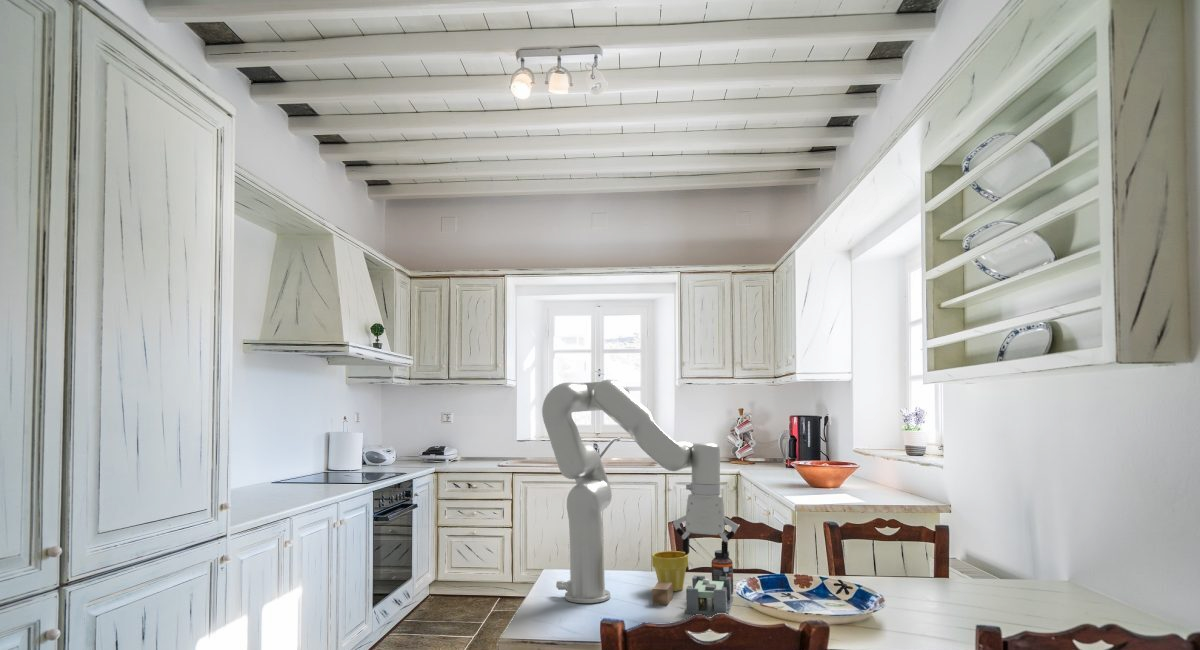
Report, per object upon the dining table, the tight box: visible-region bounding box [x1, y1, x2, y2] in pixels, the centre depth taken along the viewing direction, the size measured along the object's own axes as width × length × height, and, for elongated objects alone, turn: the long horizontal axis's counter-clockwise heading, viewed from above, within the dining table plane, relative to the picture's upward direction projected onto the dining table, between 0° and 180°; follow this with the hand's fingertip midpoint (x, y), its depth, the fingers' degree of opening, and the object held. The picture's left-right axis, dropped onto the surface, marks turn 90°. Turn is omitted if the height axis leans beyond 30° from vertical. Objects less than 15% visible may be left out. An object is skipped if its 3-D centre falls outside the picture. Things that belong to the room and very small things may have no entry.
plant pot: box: [651, 550, 689, 592], centre depth 221 cm, size 10×10×10 cm
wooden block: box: [652, 581, 674, 606], centre depth 208 cm, size 4×8×4 cm, turn 165°
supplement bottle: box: [710, 549, 734, 594], centre depth 217 cm, size 6×6×11 cm
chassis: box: [684, 575, 734, 616], centre depth 202 cm, size 11×16×6 cm
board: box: [695, 578, 724, 598], centre depth 203 cm, size 7×12×2 cm, turn 166°
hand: (705, 555), depth 203 cm, fingers open, 9 cm apart
